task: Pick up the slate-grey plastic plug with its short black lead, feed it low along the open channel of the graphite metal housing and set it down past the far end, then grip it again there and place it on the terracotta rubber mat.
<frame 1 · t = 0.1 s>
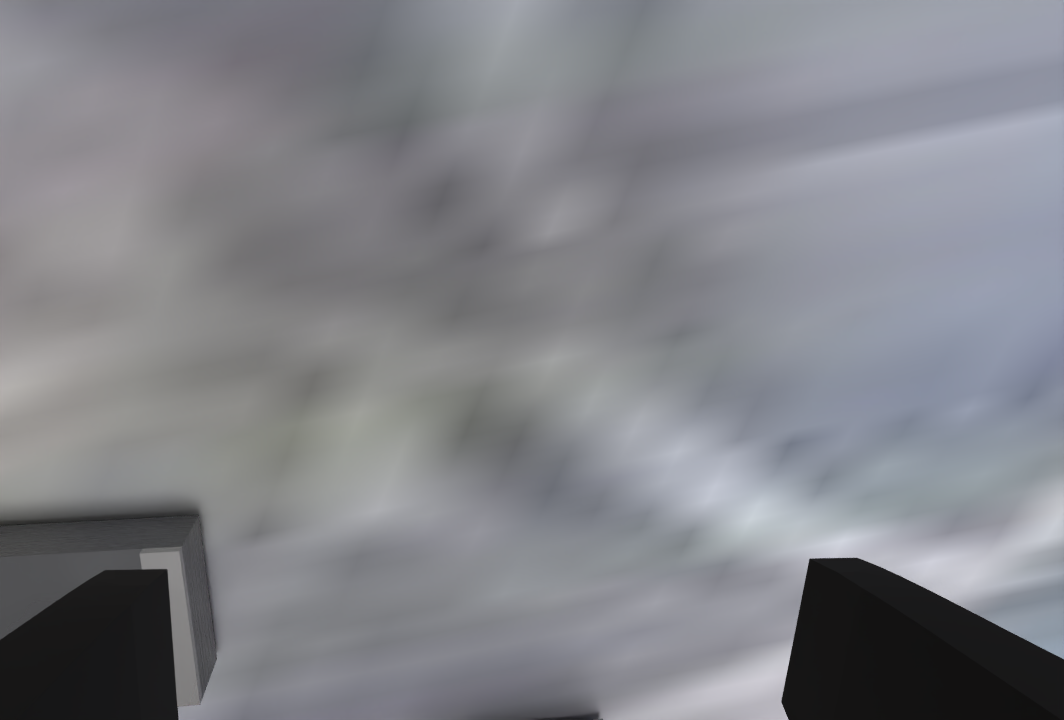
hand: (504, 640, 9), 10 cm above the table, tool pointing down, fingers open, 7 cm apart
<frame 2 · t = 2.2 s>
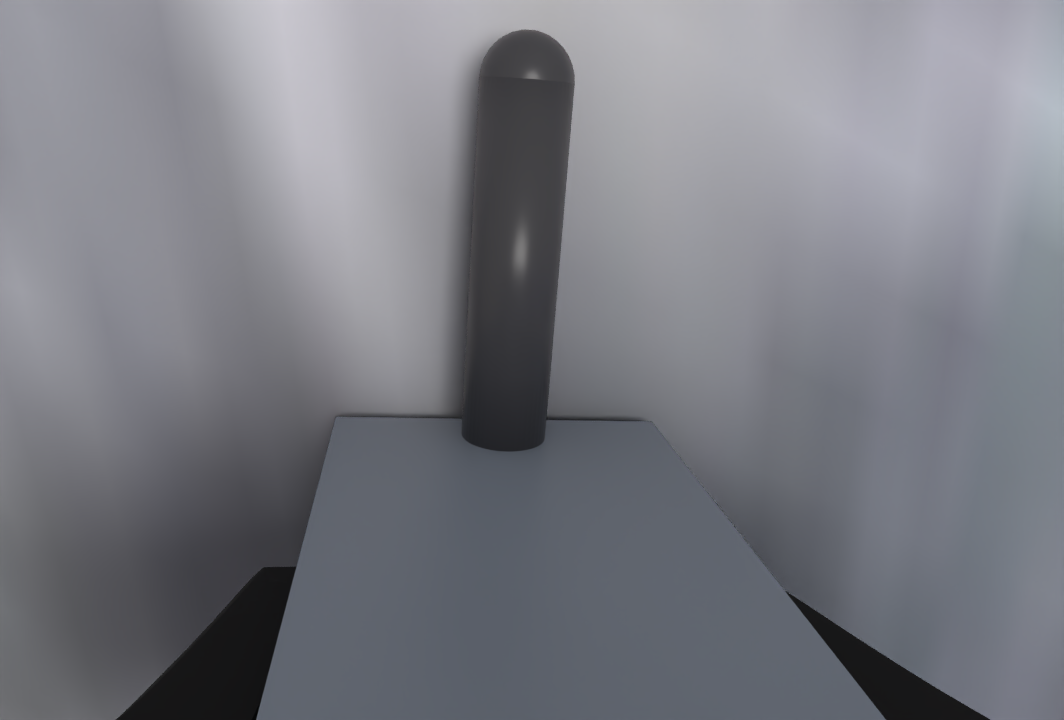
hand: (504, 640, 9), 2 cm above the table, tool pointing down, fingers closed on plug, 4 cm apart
plug: (489, 558, 10), on the table, touching gripper
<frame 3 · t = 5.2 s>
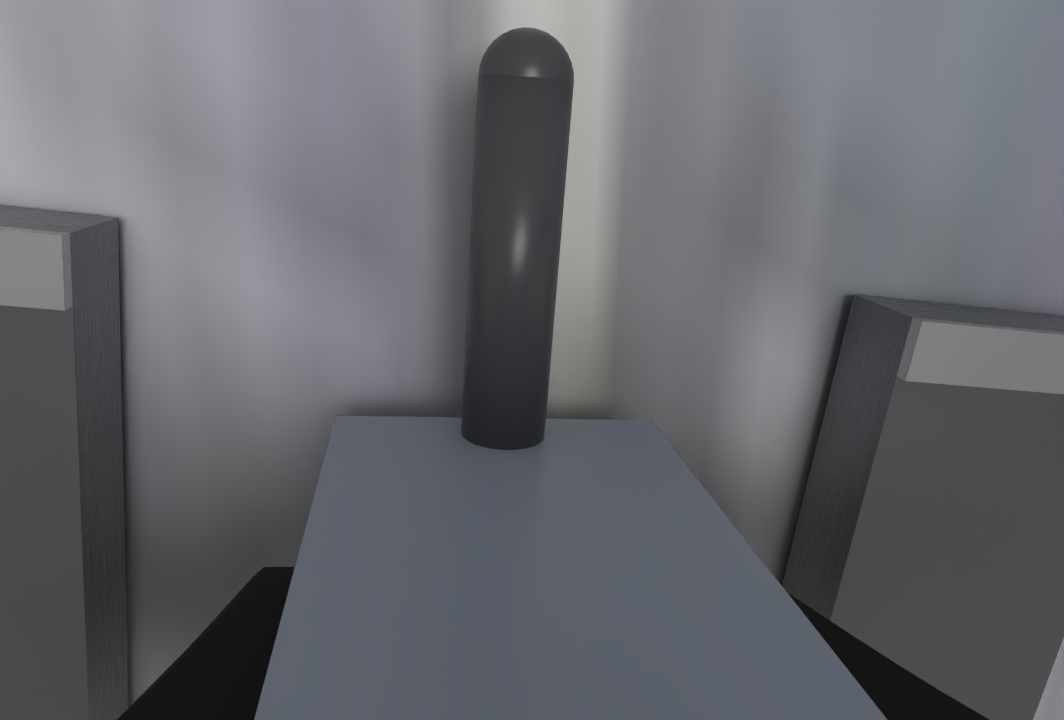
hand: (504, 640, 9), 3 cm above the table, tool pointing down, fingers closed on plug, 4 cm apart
plug: (489, 557, 10), point 1 cm above the table, touching gripper
housing: (484, 524, 11), on the table
when the fingers open (2 cm above the table, at t = 8.3 s): plug stays where it is, on the table.
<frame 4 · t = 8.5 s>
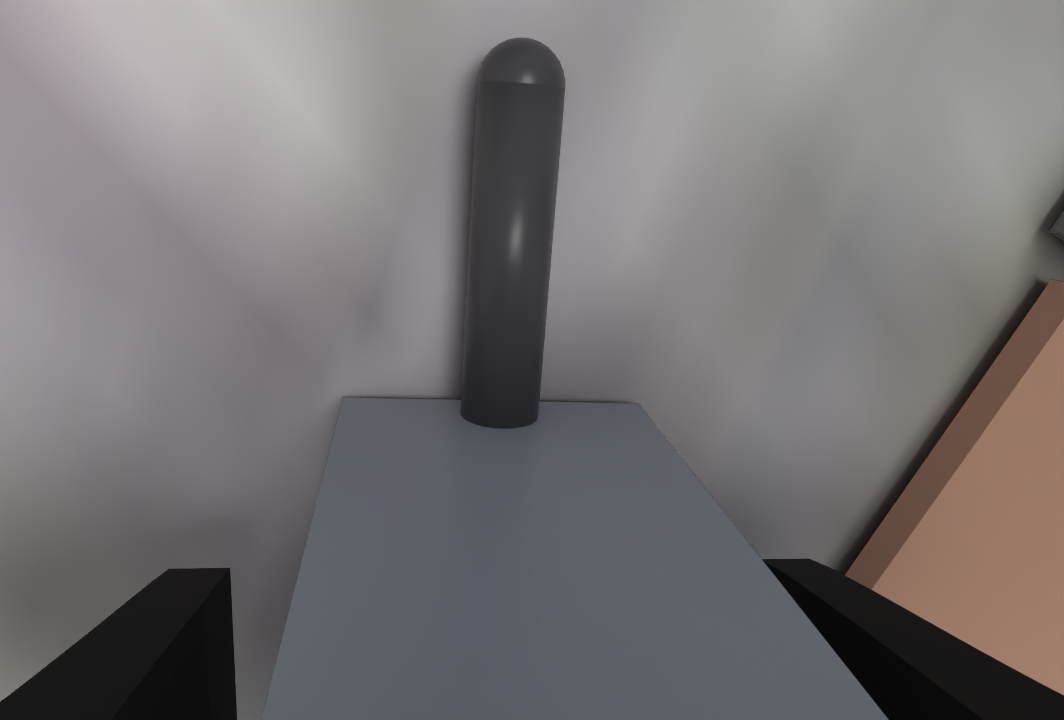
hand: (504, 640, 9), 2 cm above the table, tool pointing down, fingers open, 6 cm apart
plug: (486, 532, 11), on the table
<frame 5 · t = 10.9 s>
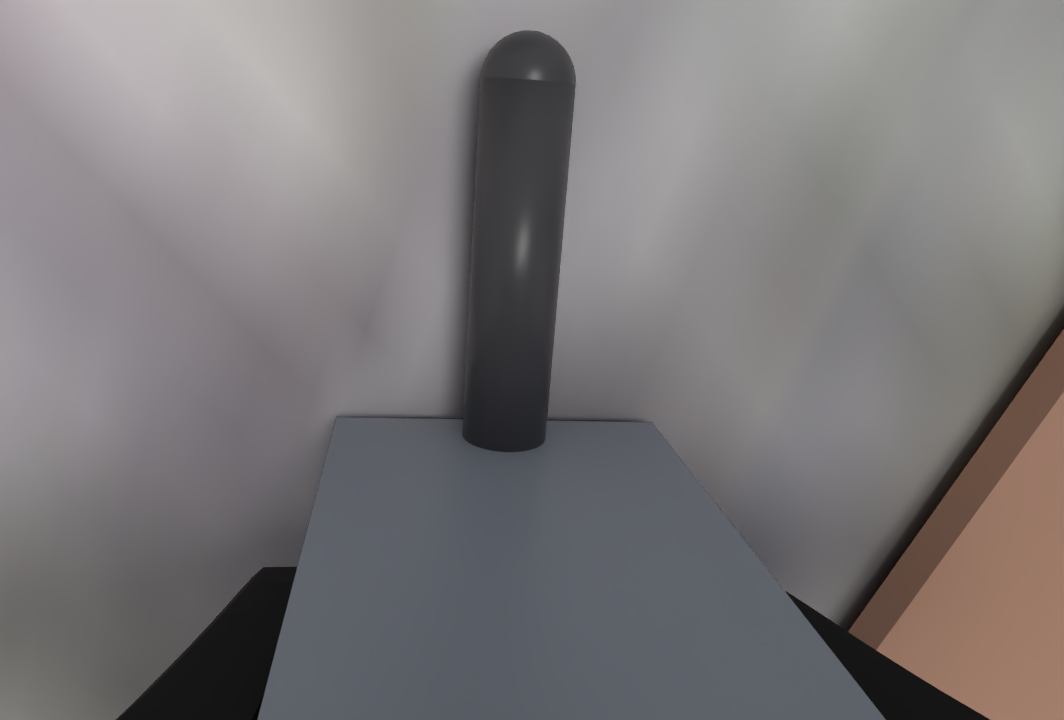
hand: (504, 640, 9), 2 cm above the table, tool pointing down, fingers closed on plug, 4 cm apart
plug: (490, 559, 10), on the table, touching gripper
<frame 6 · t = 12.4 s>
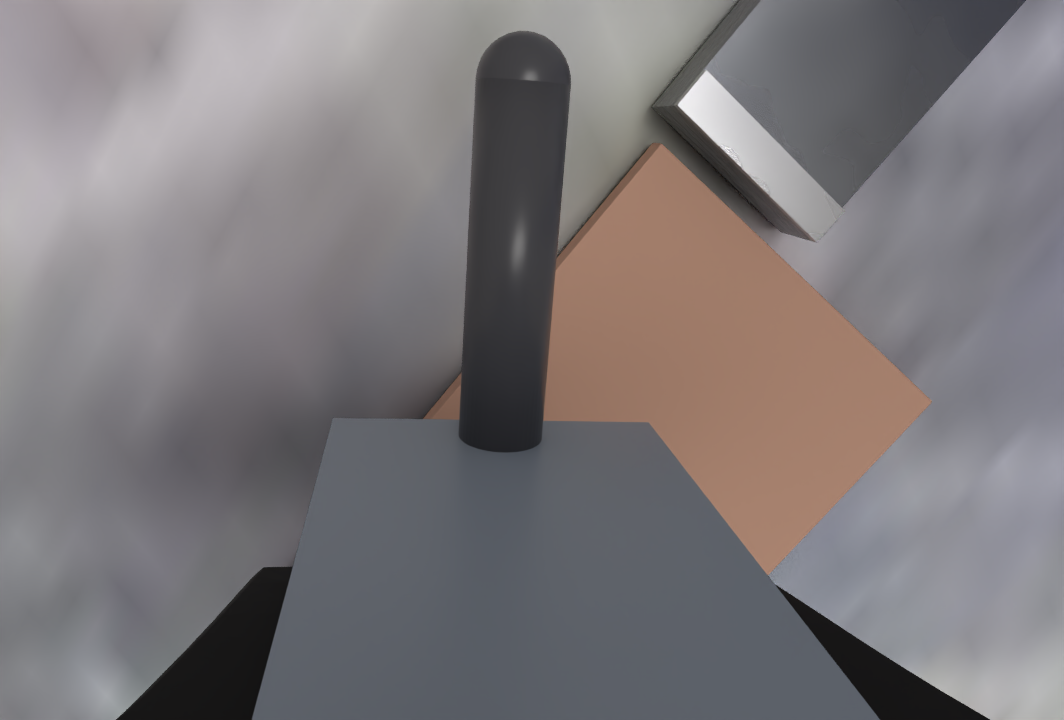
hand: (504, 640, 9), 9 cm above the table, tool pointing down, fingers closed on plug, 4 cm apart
mat: (605, 491, 18), on the table
plug: (487, 559, 10), point 7 cm above the table, touching gripper
when the fingers open (3 cm above the table, at t = 14.1 s): plug drops 1 cm, resting on mat.
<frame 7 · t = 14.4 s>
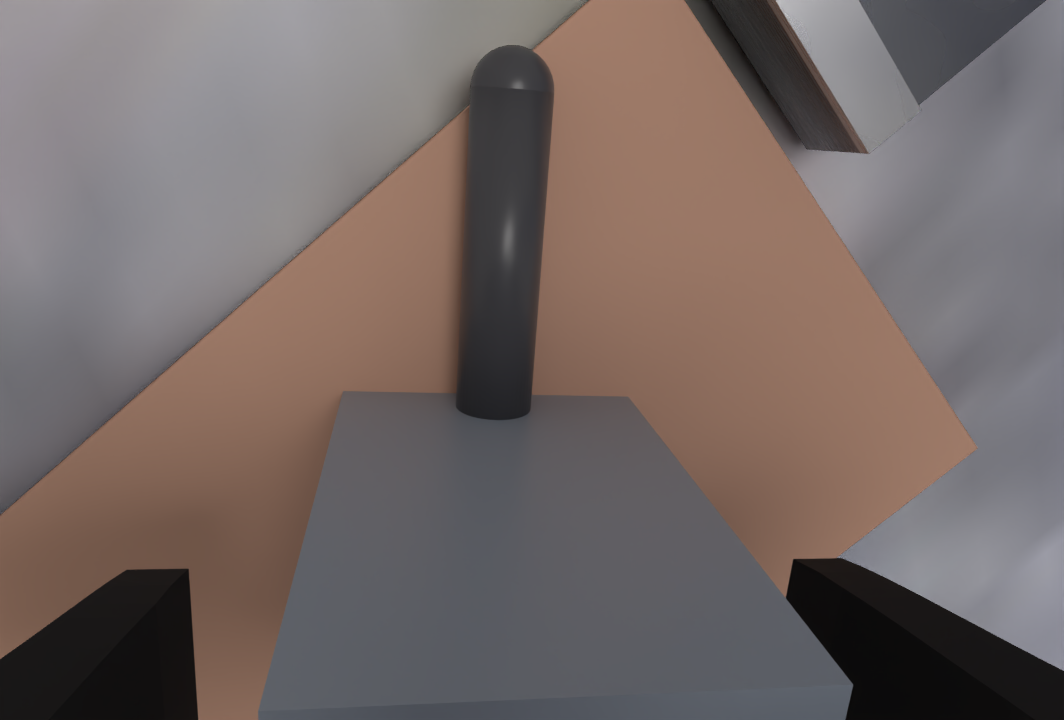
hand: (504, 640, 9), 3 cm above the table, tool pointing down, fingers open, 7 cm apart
mat: (479, 500, 12), on the table
plug: (482, 522, 11), point 1 cm above the table, touching mat
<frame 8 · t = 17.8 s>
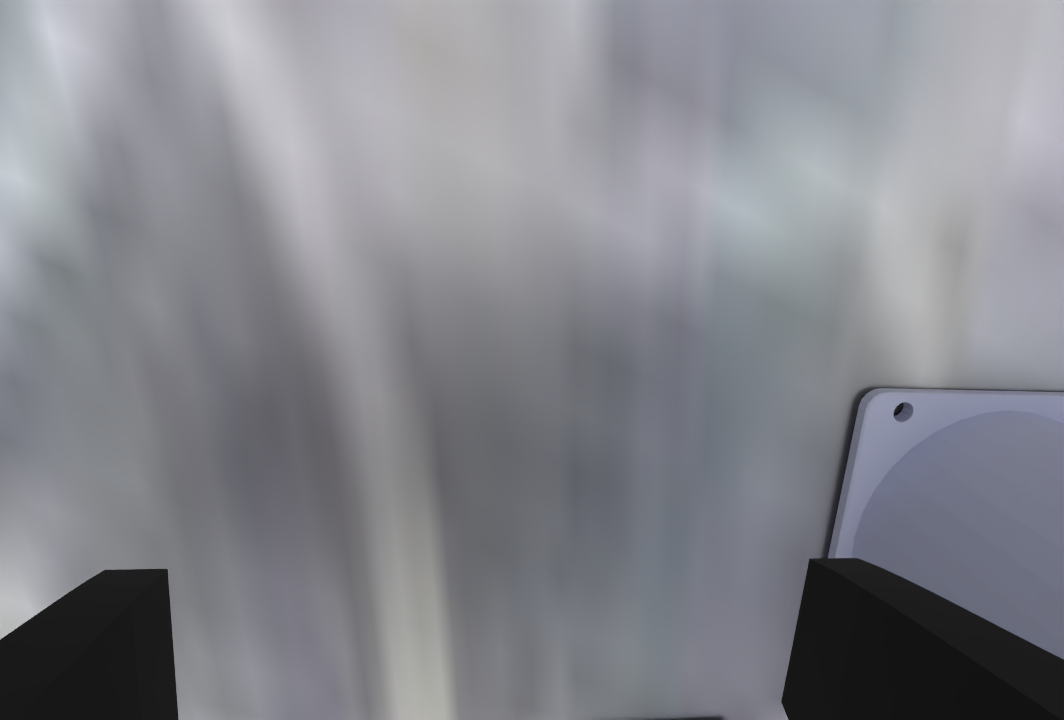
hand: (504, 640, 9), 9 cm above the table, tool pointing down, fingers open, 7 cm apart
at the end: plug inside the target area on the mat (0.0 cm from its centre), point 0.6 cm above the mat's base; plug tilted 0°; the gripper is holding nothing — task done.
